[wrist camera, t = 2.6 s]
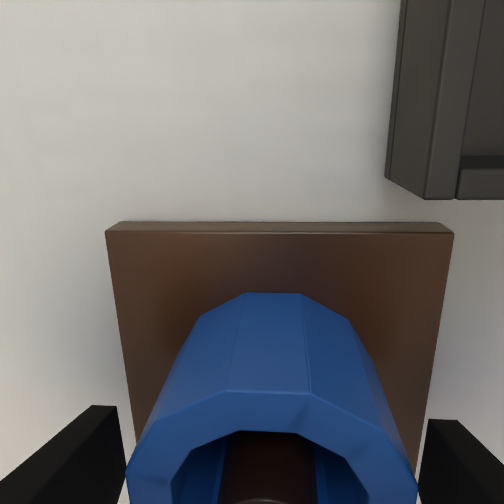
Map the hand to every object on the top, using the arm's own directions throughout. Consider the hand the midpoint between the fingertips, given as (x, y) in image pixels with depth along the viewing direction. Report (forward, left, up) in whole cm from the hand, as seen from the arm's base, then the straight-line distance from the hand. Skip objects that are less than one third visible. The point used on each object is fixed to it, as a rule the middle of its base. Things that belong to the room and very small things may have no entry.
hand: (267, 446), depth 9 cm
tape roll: (0, 0, -3) cm, 3 cm away
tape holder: (0, 0, -4) cm, 4 cm away
